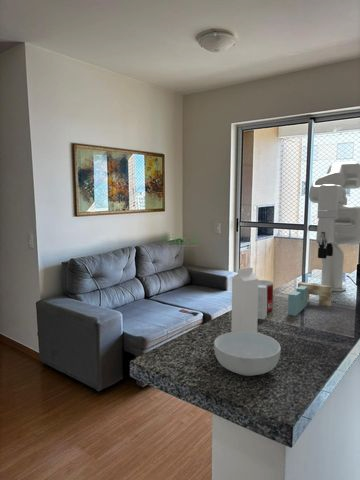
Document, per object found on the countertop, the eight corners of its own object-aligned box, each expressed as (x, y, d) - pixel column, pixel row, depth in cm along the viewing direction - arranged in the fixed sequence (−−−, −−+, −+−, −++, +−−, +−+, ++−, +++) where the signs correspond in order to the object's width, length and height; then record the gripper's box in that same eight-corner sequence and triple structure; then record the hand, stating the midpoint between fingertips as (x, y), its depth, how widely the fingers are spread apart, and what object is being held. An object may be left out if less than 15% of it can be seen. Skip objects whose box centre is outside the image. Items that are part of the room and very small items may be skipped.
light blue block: (299, 304, 148) (300, 285, 147) (307, 305, 147) (307, 286, 146) (287, 314, 135) (288, 294, 134) (295, 316, 134) (296, 295, 133)
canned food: (270, 306, 146) (271, 280, 144) (273, 312, 138) (274, 285, 136) (251, 306, 146) (252, 280, 145) (253, 312, 138) (254, 284, 137)
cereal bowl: (202, 373, 90) (202, 346, 90) (230, 349, 104) (230, 326, 103) (266, 392, 81) (267, 363, 80) (288, 364, 95) (289, 339, 94)
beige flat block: (297, 301, 152) (298, 283, 151) (299, 299, 155) (300, 282, 154) (329, 306, 145) (330, 287, 144) (331, 304, 148) (331, 286, 147)
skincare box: (267, 316, 133) (267, 285, 132) (264, 320, 129) (265, 288, 128) (251, 314, 136) (251, 283, 134) (248, 317, 132) (248, 286, 131)
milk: (257, 336, 114) (259, 269, 112) (242, 340, 111) (244, 271, 109) (245, 330, 120) (246, 266, 117) (230, 333, 117) (232, 267, 114)
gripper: (323, 214, 153) (321, 254, 154) (311, 215, 139) (309, 258, 141) (342, 215, 149) (340, 255, 150) (331, 215, 135) (329, 260, 136)
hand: (325, 257), depth 145 cm, fingers open, 9 cm apart
